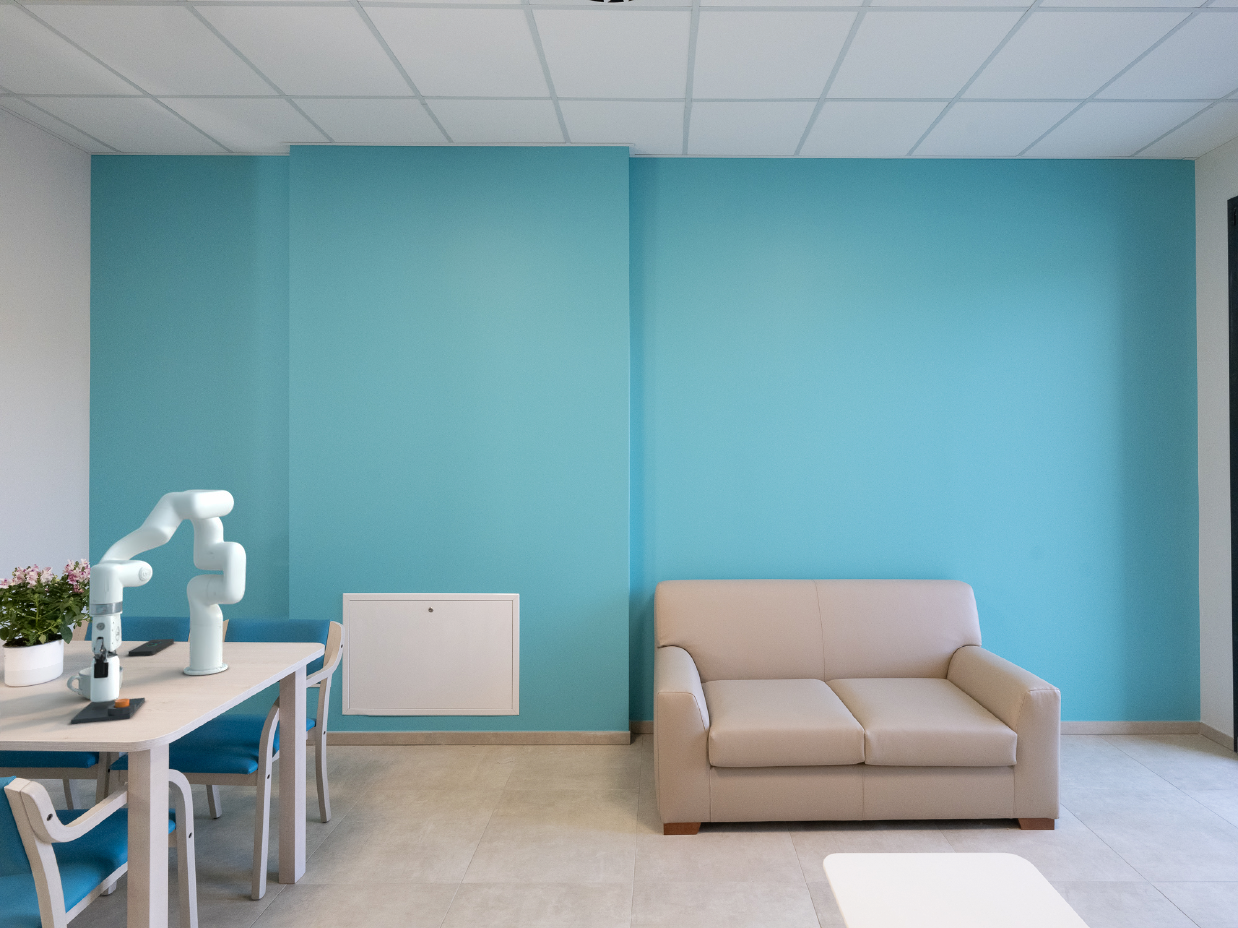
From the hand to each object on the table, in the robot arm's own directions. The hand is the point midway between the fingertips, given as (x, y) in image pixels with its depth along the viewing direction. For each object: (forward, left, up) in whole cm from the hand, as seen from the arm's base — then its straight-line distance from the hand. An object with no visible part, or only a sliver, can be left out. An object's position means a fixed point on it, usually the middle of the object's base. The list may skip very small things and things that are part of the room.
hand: (105, 673), depth 204 cm
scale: (+3, +2, -10) cm, 11 cm away
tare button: (+8, +6, -7) cm, 12 cm away
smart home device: (-77, -5, -10) cm, 78 cm away
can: (0, 0, -7) cm, 7 cm away
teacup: (-14, -6, -10) cm, 18 cm away
